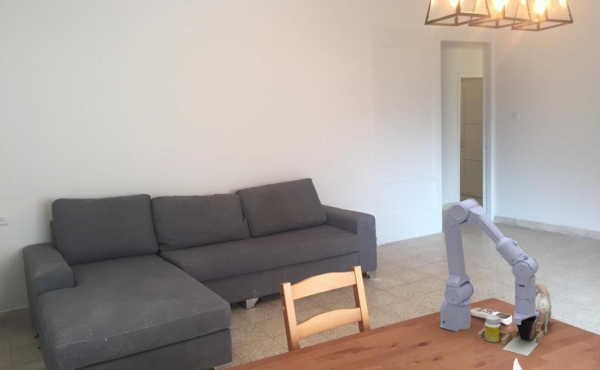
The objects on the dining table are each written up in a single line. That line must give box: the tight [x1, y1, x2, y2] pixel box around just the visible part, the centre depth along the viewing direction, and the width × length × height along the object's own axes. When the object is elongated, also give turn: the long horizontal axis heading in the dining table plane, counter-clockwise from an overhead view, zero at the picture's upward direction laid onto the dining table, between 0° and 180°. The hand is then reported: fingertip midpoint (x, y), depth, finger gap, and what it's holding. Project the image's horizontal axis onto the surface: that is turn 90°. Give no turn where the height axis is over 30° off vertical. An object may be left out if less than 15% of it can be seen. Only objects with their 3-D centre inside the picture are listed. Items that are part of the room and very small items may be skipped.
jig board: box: [476, 326, 545, 357], centre depth 156 cm, size 16×16×3 cm
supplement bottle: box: [484, 314, 502, 344], centre depth 156 cm, size 5×5×8 cm
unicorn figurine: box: [535, 282, 553, 334], centre depth 165 cm, size 7×20×13 cm, turn 166°
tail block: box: [518, 322, 537, 339], centre depth 156 cm, size 4×4×5 cm
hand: (524, 338), depth 154 cm, fingers closed
